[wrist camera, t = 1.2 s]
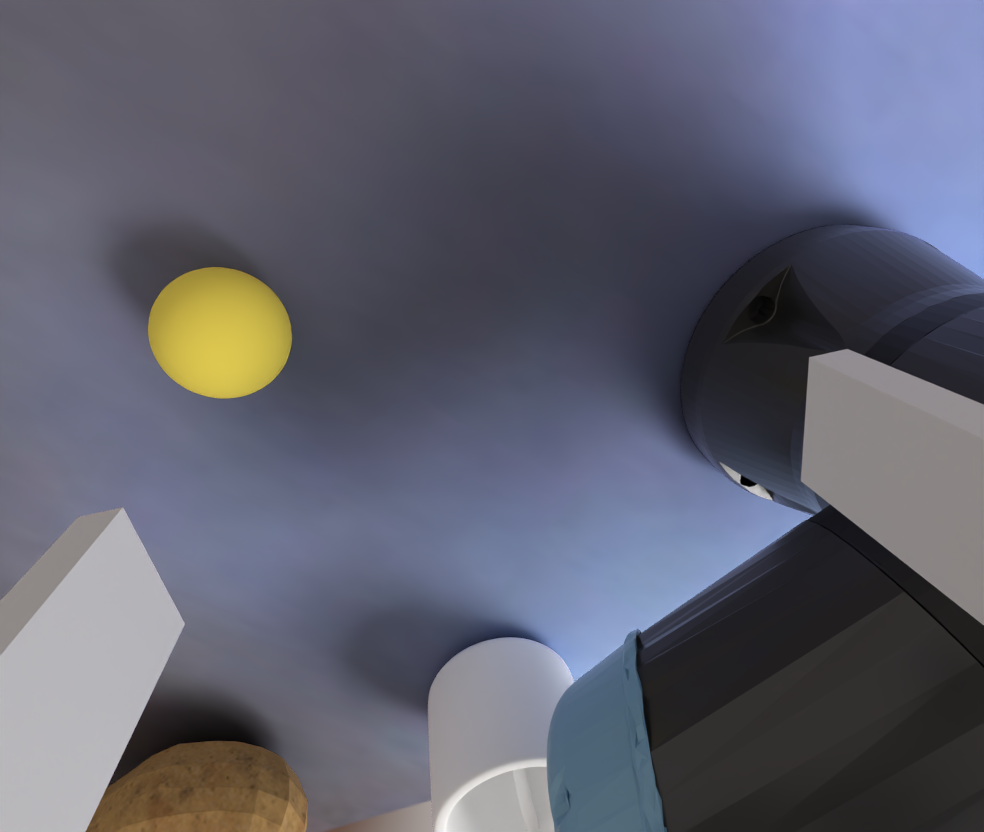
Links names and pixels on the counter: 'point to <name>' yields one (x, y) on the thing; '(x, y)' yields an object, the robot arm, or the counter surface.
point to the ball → (220, 332)
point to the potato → (205, 792)
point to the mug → (494, 736)
